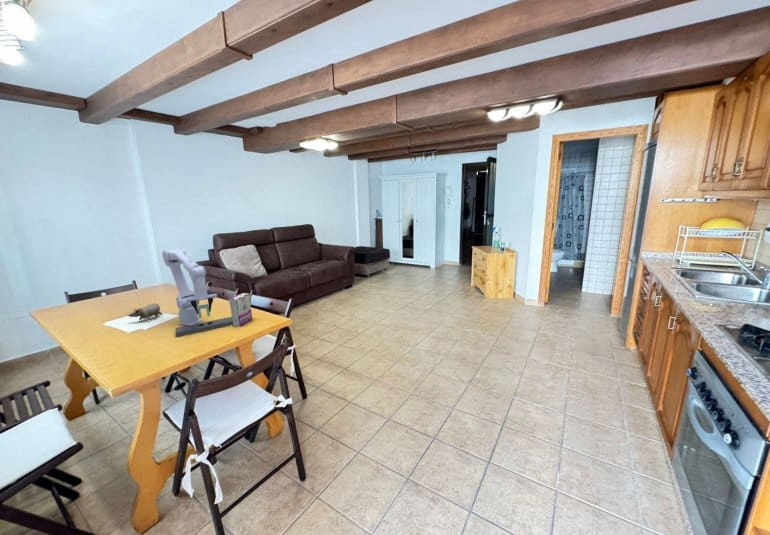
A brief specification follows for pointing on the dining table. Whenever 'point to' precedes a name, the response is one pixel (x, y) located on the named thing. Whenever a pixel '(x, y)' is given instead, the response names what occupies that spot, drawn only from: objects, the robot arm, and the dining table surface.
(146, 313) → the animal figurine
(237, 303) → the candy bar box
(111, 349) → the dining table surface
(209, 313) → the clip
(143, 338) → the dining table surface
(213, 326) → the rail
